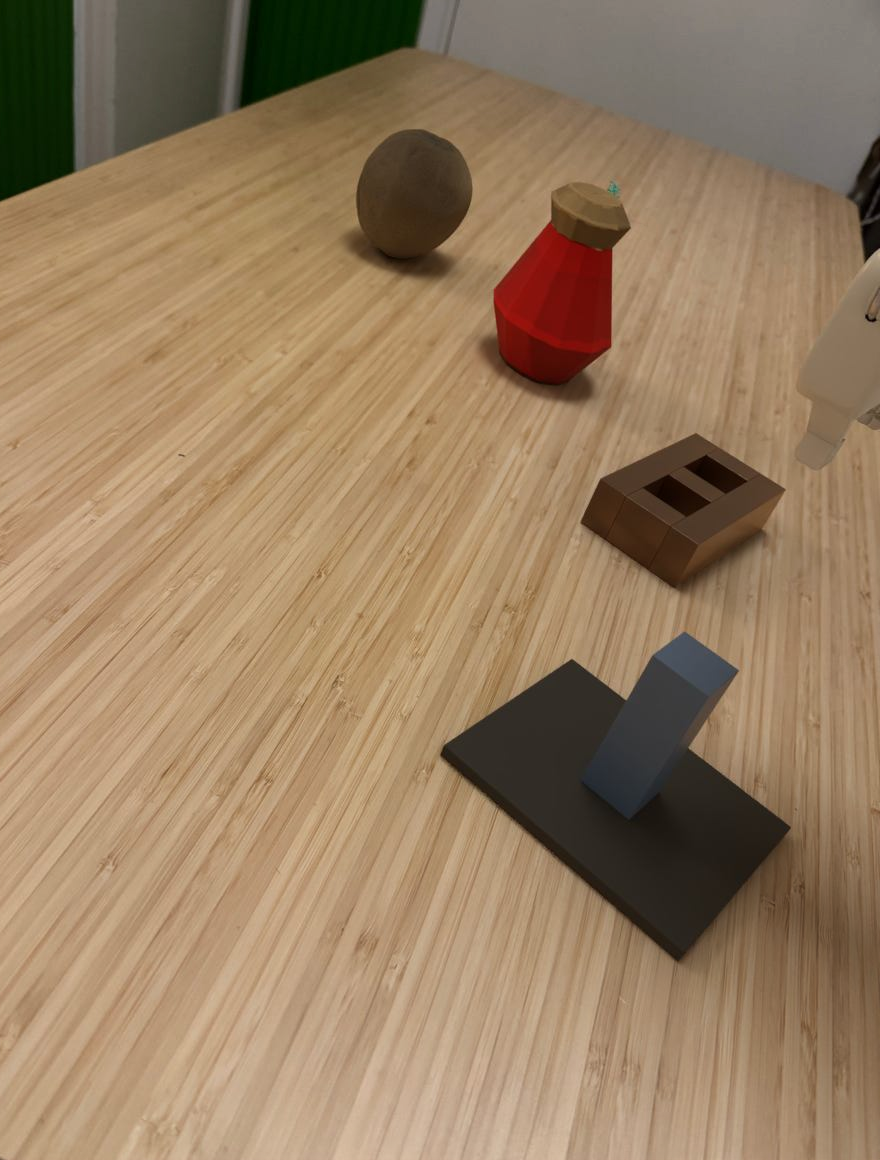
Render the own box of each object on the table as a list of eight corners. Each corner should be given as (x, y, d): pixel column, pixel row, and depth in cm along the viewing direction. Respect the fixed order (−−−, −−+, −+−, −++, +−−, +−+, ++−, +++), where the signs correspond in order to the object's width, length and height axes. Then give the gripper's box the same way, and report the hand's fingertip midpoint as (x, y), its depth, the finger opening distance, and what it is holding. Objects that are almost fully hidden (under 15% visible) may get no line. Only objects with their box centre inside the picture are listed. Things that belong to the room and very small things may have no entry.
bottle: (615, 398, 121) (690, 230, 108) (525, 402, 114) (594, 223, 101) (541, 330, 130) (602, 168, 117) (453, 330, 123) (508, 158, 110)
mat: (784, 835, 74) (791, 827, 73) (678, 961, 63) (685, 953, 62) (567, 667, 81) (572, 658, 81) (439, 754, 71) (443, 744, 70)
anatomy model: (572, 165, 174) (586, 175, 169) (614, 176, 176) (629, 185, 171) (562, 197, 177) (575, 207, 171) (603, 207, 179) (618, 217, 174)
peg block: (762, 529, 107) (786, 489, 104) (674, 588, 94) (698, 544, 91) (675, 472, 111) (696, 432, 108) (580, 522, 98) (600, 478, 95)
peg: (659, 792, 72) (739, 670, 65) (628, 820, 69) (709, 696, 62) (611, 754, 74) (684, 630, 66) (580, 780, 71) (652, 654, 63)
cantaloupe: (415, 287, 130) (450, 165, 120) (324, 240, 133) (351, 117, 124) (467, 265, 140) (503, 151, 131) (381, 222, 144) (410, 107, 134)
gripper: (987, 259, 44) (821, 522, 53) (1087, 213, 57) (942, 428, 66) (854, 196, 46) (717, 458, 55) (981, 167, 60) (854, 380, 69)
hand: (841, 441), depth 61 cm, fingers open, 8 cm apart
